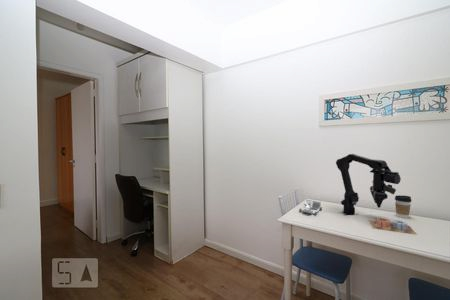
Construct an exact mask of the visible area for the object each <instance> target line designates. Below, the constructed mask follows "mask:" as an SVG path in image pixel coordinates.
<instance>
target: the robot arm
mask: <svg viewBox="0 0 450 300" xmlns="http://www.w3.org/2000/svg"><path fill="white" fill-rule="evenodd" d="M353 161H354V162H358V163H360V164H363V165H366V166H368V167H369V168H370V169H371V170H370V171H369V173H371V174H372V173H373V174H372V176H373V177H372V181H371V182H372V185H371V186H370V187H369V191H370V193H371V196H372V198H373V202H374V203H375V204H376V207H377V208H381V206H382V204H383V202H384V200H387V199H388V194H387V193H389V194H391V195H395V193H396V191H397V189H396V188H394V187H393V185H392V184H394V185H398V184H400V182H401V181H402V180H401V176H400V173H399V171H392V170H391V169H390V167H389V166H388V163H387V162H386V161H385V160H382V159H372V158H369V157H365V156H361V155H358V154H355V153H350V154H348V155H345V156H344V157H343V156H342V157H341V158H338V159H337V160H336V161H335V164H336V167H337V169H338V170H339V171H340V174H341V178H342V182H343V183H342V184H343V186H344V191H345V192H344V195H343V198H344V199H342V200H341V202H340V204H341V205H342V206H343V208H342V209H343V210H342V213H343V215H350V216H355V214H356V208H355V206H356V205H357V203H358V202H359V199H360V197H359V193H358V192H355V190H354V188H353V184H352V180H351V175H350V171H349V169H350V164H351V163H353ZM386 183H388V184H386ZM386 192H387V193H386Z"/></svg>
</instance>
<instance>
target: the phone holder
mask: <svg viewBox="0 0 450 300" xmlns="http://www.w3.org/2000/svg"><path fill="white" fill-rule="evenodd" d="M321 203H322V202H321V201H319V200H313V199H308V198H307V199H306V202H304V203H303V205H304V207H303V208H301V207H300V208H299V210H298V213H300V212H301V213H306V214H311V215H314V216H317V215H318V212H321V211H322V210H323V207H321V205H322V204H321Z"/></svg>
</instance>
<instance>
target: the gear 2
mask: <svg viewBox="0 0 450 300" xmlns="http://www.w3.org/2000/svg"><path fill="white" fill-rule="evenodd" d="M398 221H402V223H398ZM392 223H393V228H395V229H398V230H402V231H406V230H407V225H408V222H406V221H403V220H398V219H394V220H393V221H392Z"/></svg>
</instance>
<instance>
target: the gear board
mask: <svg viewBox="0 0 450 300" xmlns="http://www.w3.org/2000/svg"><path fill="white" fill-rule="evenodd" d="M385 219H386V218H384V219H381V220H382V221H385ZM402 221H403V220H400V221H399V220H398V223H402ZM368 222H369V224H370V226H371V228H372V229H375V230H381V231H388V232H393V233H401V234H407V235H408V234H409V235H415V236H418V233H417V232H416V231H415V230H414V229H413V228H412V226H410V225H408V224H407V230H406V231H402V230H398V229H395V228H393V222H392V223H391V222H390V228H383V227H379V226H378V225H376V221H375V220H369V219H368Z"/></svg>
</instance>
